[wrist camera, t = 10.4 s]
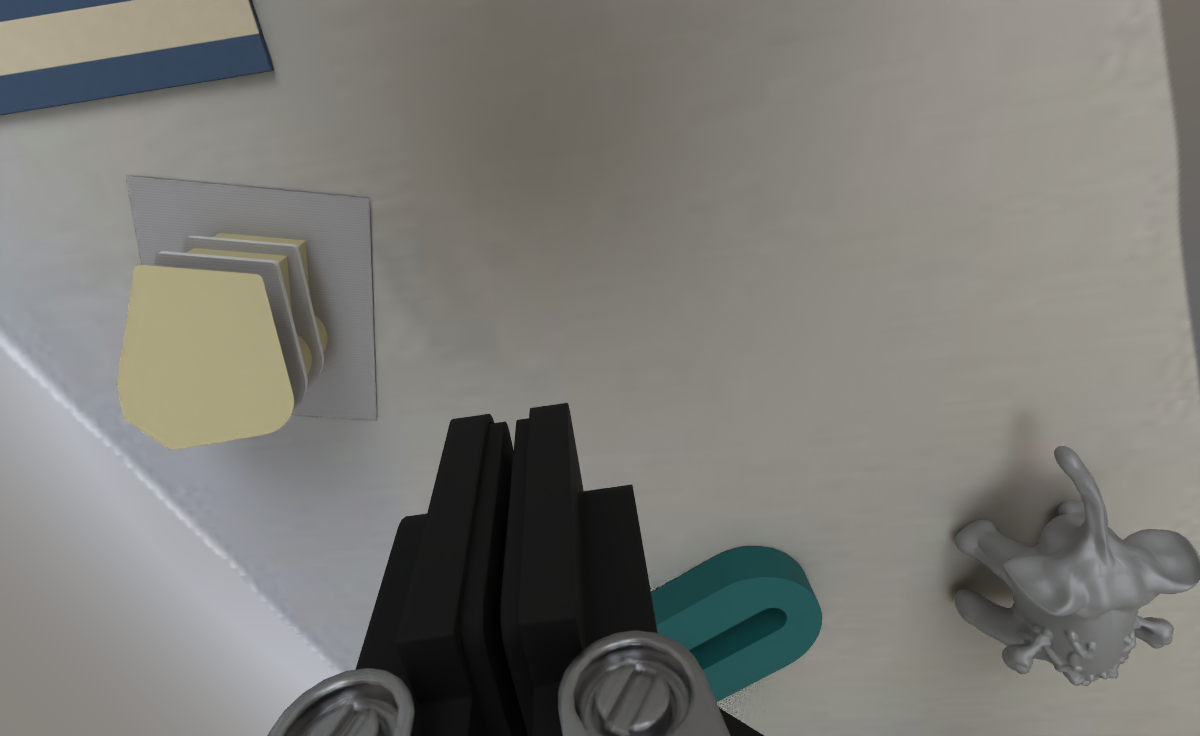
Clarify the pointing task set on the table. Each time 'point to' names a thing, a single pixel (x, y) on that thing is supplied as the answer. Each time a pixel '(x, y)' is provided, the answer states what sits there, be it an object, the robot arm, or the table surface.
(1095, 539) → the gray elephant figurine
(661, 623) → the bracket
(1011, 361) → the table surface
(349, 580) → the table surface
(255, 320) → the stacked layers on plate
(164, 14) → the cloth
